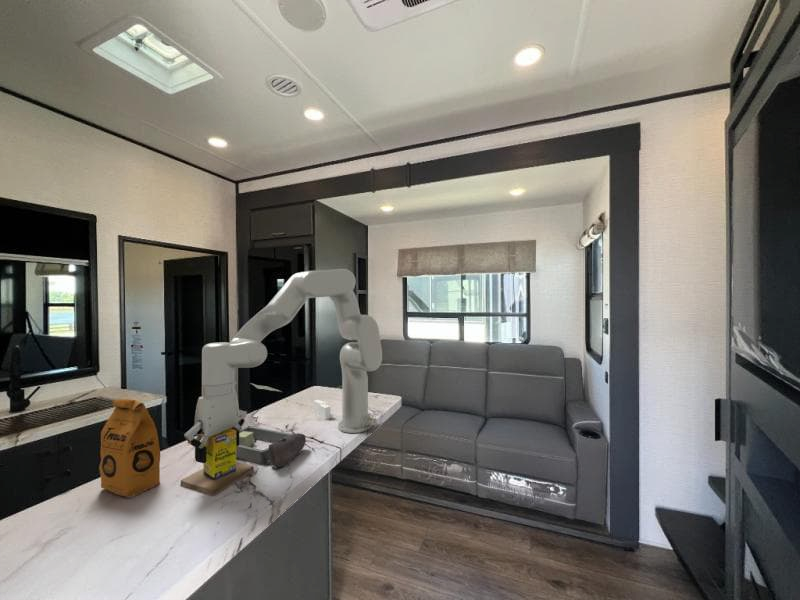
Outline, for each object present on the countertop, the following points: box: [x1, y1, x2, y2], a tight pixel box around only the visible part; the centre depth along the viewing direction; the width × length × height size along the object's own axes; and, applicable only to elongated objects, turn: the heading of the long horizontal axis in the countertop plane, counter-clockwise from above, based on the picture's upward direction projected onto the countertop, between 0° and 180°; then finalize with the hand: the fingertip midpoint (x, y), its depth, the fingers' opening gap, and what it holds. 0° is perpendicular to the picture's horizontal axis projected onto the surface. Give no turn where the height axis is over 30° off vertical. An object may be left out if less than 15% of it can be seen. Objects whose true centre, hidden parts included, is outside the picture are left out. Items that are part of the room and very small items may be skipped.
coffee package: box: [98, 397, 161, 499], centre depth 79 cm, size 10×12×22 cm
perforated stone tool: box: [268, 433, 307, 469], centre depth 92 cm, size 15×5×7 cm, turn 157°
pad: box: [180, 461, 255, 497], centre depth 83 cm, size 12×12×1 cm
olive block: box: [239, 431, 254, 447], centre depth 101 cm, size 4×4×4 cm
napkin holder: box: [312, 399, 331, 421], centre depth 128 cm, size 15×11×6 cm
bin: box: [236, 425, 294, 465], centre depth 99 cm, size 20×13×4 cm, turn 68°
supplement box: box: [202, 428, 237, 480], centre depth 83 cm, size 6×6×11 cm
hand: (218, 453), depth 83 cm, fingers open, 9 cm apart
